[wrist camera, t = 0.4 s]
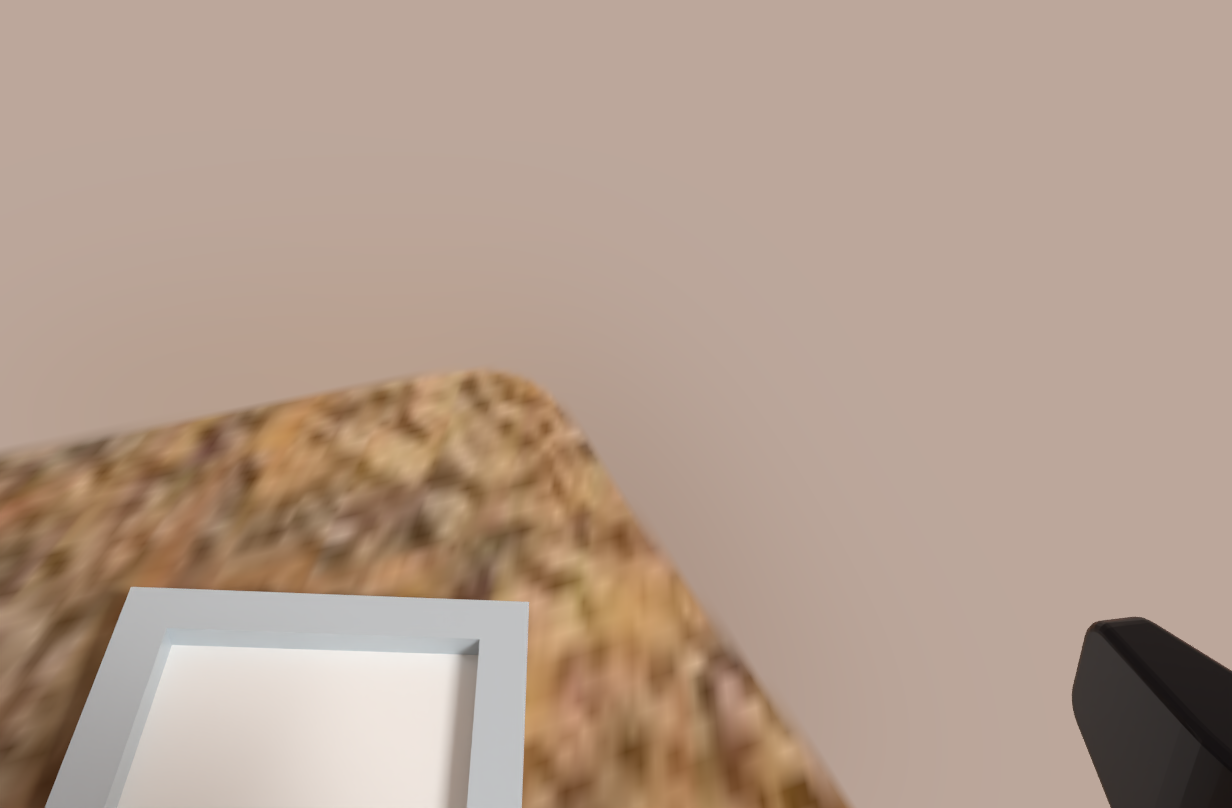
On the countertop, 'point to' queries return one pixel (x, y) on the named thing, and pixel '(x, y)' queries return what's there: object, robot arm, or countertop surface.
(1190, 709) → the robot arm
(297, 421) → the countertop surface
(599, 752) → the countertop surface
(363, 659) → the tray
